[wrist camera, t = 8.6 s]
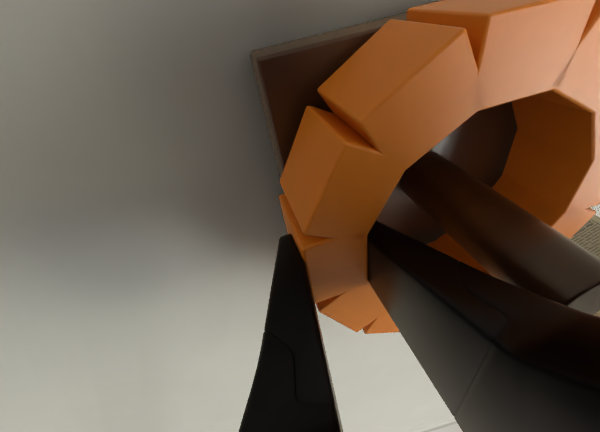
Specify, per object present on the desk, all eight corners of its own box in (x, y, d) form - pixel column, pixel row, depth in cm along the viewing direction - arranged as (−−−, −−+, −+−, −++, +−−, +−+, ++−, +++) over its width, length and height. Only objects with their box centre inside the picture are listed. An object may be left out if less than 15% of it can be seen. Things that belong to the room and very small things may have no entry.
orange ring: (306, 310, 13) (326, 365, 11) (240, 45, 7) (260, 68, 5) (508, 238, 15) (558, 277, 13) (624, -43, 8) (771, -55, 6)
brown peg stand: (305, 278, 14) (374, 454, 9) (248, 51, 8) (367, 174, 3) (483, 216, 15) (644, 339, 10) (557, -26, 9) (1105, -56, 4)
